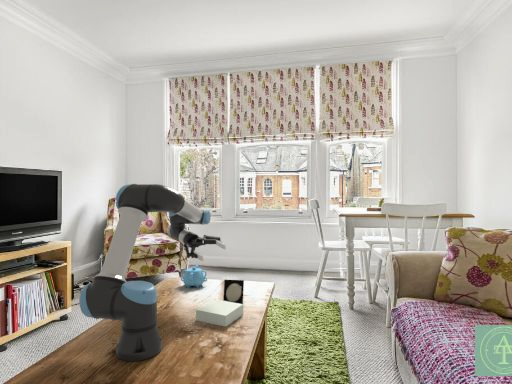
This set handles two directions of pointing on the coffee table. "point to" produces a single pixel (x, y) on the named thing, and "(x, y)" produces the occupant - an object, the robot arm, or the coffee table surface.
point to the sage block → (219, 312)
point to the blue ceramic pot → (194, 277)
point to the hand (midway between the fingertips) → (214, 252)
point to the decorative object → (233, 291)
